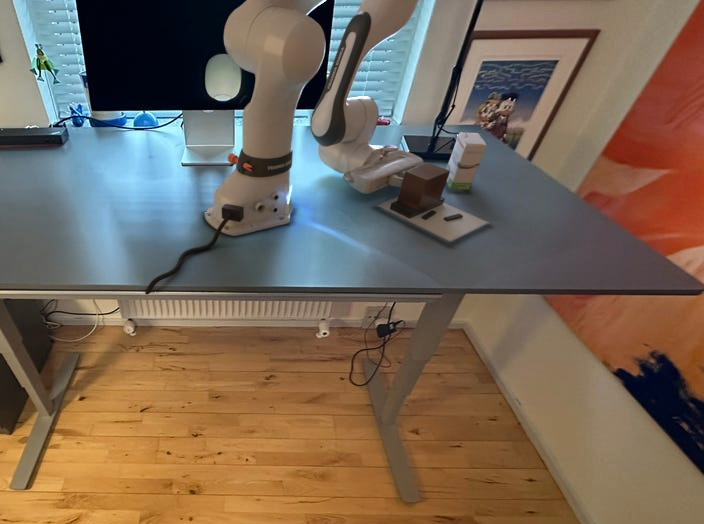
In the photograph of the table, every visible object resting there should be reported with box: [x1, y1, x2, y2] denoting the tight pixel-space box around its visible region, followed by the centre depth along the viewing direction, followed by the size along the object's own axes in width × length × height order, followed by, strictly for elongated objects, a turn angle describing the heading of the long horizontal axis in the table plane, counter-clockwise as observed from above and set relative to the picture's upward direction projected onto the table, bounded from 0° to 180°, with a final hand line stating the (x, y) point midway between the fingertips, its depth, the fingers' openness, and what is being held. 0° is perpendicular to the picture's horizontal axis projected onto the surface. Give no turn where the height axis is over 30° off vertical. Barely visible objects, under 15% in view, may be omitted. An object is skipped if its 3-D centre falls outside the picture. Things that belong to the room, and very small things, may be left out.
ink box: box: [445, 131, 488, 191], centre depth 104 cm, size 9×5×12 cm, turn 171°
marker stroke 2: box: [444, 214, 463, 221], centre depth 95 cm, size 4×1×1 cm, turn 111°
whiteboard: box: [376, 196, 490, 243], centre depth 98 cm, size 14×21×1 cm, turn 33°
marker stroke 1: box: [422, 210, 436, 220], centre depth 96 cm, size 4×1×1 cm, turn 131°
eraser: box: [390, 162, 450, 219], centre depth 97 cm, size 12×6×8 cm, turn 123°
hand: (411, 183), depth 98 cm, fingers closed
